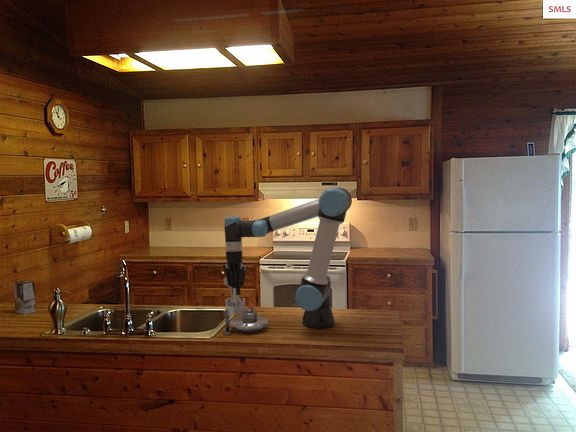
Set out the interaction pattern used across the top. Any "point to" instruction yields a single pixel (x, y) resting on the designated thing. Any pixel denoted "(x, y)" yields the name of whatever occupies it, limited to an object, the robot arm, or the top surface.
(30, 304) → the coffee box
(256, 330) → the turntable base
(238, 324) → the turntable
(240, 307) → the engine component
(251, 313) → the cover
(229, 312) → the dial stand
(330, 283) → the robot arm
